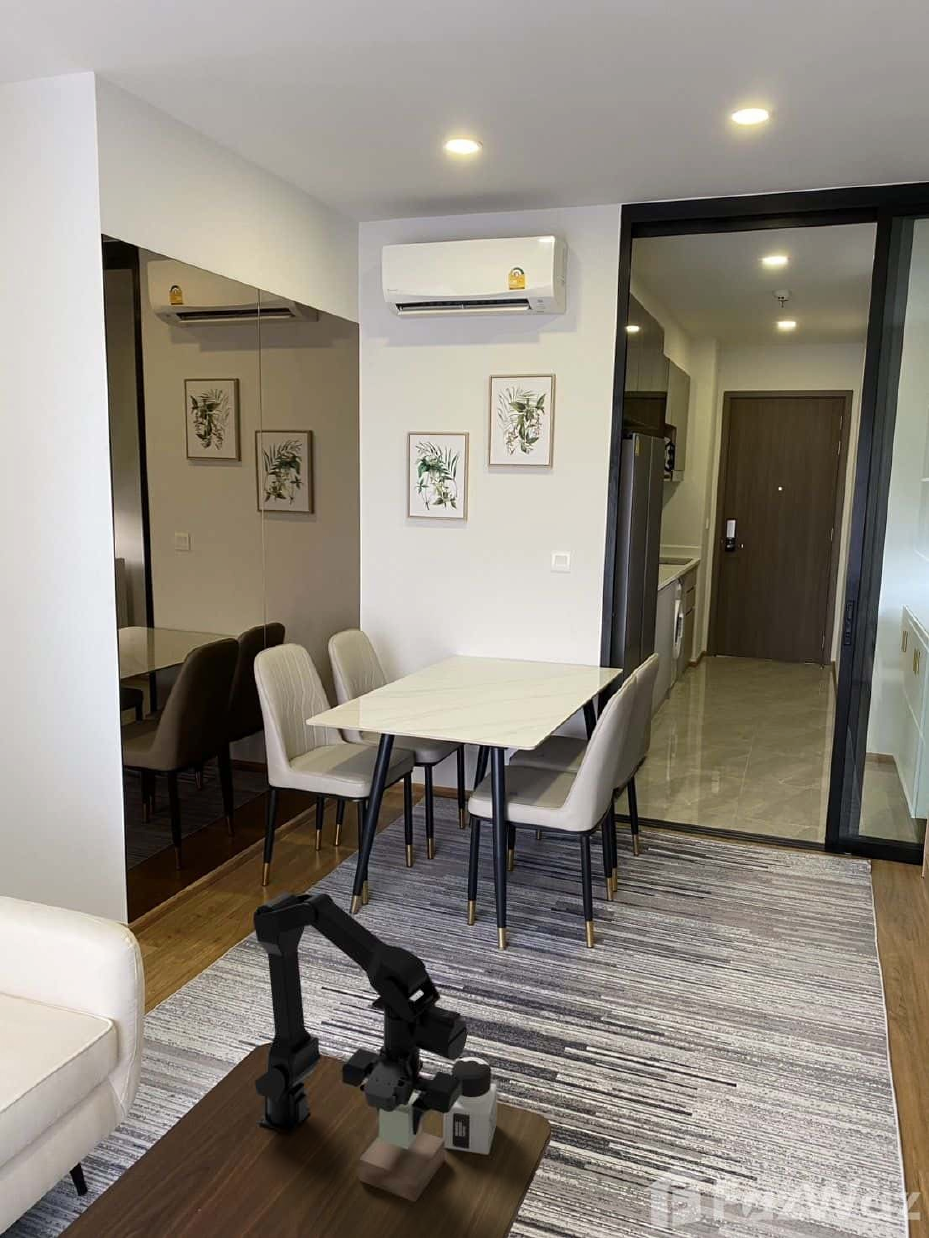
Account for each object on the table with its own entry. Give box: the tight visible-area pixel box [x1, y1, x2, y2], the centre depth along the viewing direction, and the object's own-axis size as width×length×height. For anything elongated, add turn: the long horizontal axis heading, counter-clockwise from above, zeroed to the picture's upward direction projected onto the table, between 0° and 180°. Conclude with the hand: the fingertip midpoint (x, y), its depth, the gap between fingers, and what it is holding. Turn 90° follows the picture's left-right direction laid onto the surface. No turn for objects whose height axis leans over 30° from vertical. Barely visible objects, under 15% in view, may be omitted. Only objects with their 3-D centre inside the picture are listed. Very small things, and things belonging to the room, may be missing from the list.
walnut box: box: [358, 1130, 446, 1203], centre depth 148 cm, size 10×10×4 cm
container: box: [442, 1056, 498, 1156], centre depth 155 cm, size 8×8×13 cm
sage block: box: [378, 1091, 423, 1149], centre depth 146 cm, size 5×5×6 cm
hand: (400, 1128), depth 147 cm, fingers closed on sage block, 5 cm apart
